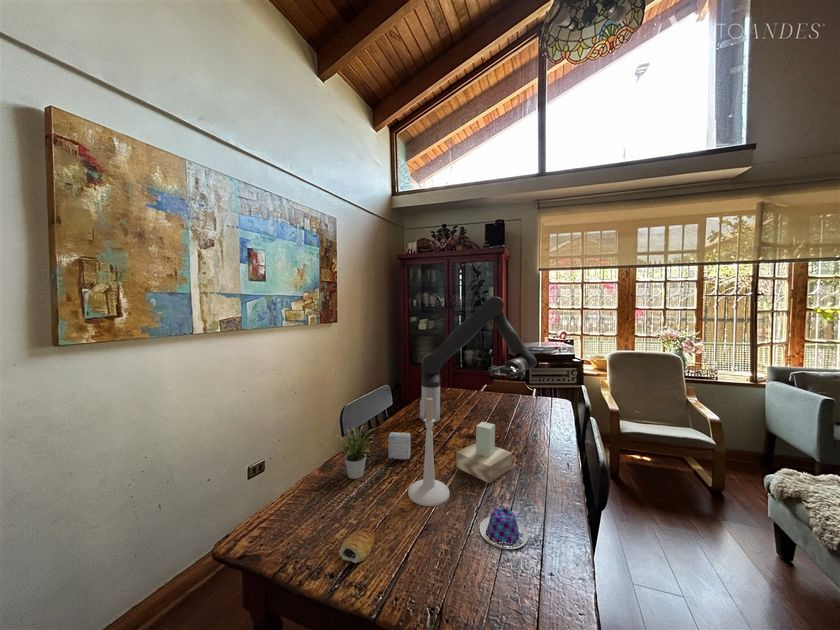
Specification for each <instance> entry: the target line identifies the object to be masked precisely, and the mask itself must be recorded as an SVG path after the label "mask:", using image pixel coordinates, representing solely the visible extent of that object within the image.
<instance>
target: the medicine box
mask: <svg viewBox="0 0 840 630" xmlns="http://www.w3.org/2000/svg"><path fill="white" fill-rule="evenodd" d="M387 440H388V459H389V458H391V459H392V458H393V459H392V460H407V459H409V460H410V457H411V433H410V432H394V431H391V432H390V433H389V435H388V439H387Z"/></svg>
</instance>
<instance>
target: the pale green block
mask: <svg viewBox="0 0 840 630" xmlns="http://www.w3.org/2000/svg"><path fill="white" fill-rule="evenodd" d="M475 427H476V428H475V429H476V433H475V435H476V436H475V443H476V454H478V455H482V456H485V457H488V458H490V456H491V455H492V454H493V453H494V452H495V446H496V444H495V443H496V424H494V423H489V422H485V421H481V422H480V423H478V424H477V425H476V426H475Z"/></svg>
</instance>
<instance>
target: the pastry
mask: <svg viewBox="0 0 840 630" xmlns="http://www.w3.org/2000/svg"><path fill="white" fill-rule="evenodd" d="M375 538H376V534H375V532H374V531H373V530H372V529H370V528H369V527H363V528H361V529H358V530H357V531H353V532H352V533H350V534H349V535H348V537H346V538H345V539H343V541H342V544H341V547H340V549H339V550H338V556H339V557H340V558H342V560H344V561H347V562H352V563H354V564H357V563H361V561H362V562H363V561H365V560H367V558H368V557H369V555H370V554H371V551H372V549H373V546H374V543H375V540H376V539H375Z"/></svg>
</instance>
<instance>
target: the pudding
mask: <svg viewBox="0 0 840 630" xmlns="http://www.w3.org/2000/svg"><path fill="white" fill-rule="evenodd" d="M519 529H520V530H521V531H522V533H523V534H524V535H523V536H524V540H523V541H524V542H523V543H524V544H521V546H518V547H513V548H512V547H511V548H503V547H500V546H497V545H495V544H493V543H492V542H491V541H489V539H488V538H487V535H486V530H487V534H488V536H490V537H491V538H494V539H493V540H494V541H495V540H496V541H497V542H501V543H502V542H506V543H509V544H511V543H513V541H518V540H520V535H519V534H520V533H519ZM479 533H480V534H481V537H483V539H484V540H486V542H488V543H489V544H491V545H492V546H495V547H496V548H497V547H498V548H499V549H503V550H505V549H506V550H515V549H519V548H521V547H523V546H525V544H526V543H527V541H528V539H529V536H528V534H529V533H528V530H526V527H524V525H522V524H521V523H520V522H519V521H517V517H516V515H515V514H514V513H513V512H512V510H510V509H507V508H505V507H500V508H498V507H496V508H495V509H493V511H492V512H491V514H490V516H487V517H486V518H483V520H482V521H481V522H480V525H479ZM496 541H495V542H496ZM497 542H496V543H497ZM513 544H514V543H513ZM511 545H512V544H511Z"/></svg>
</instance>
